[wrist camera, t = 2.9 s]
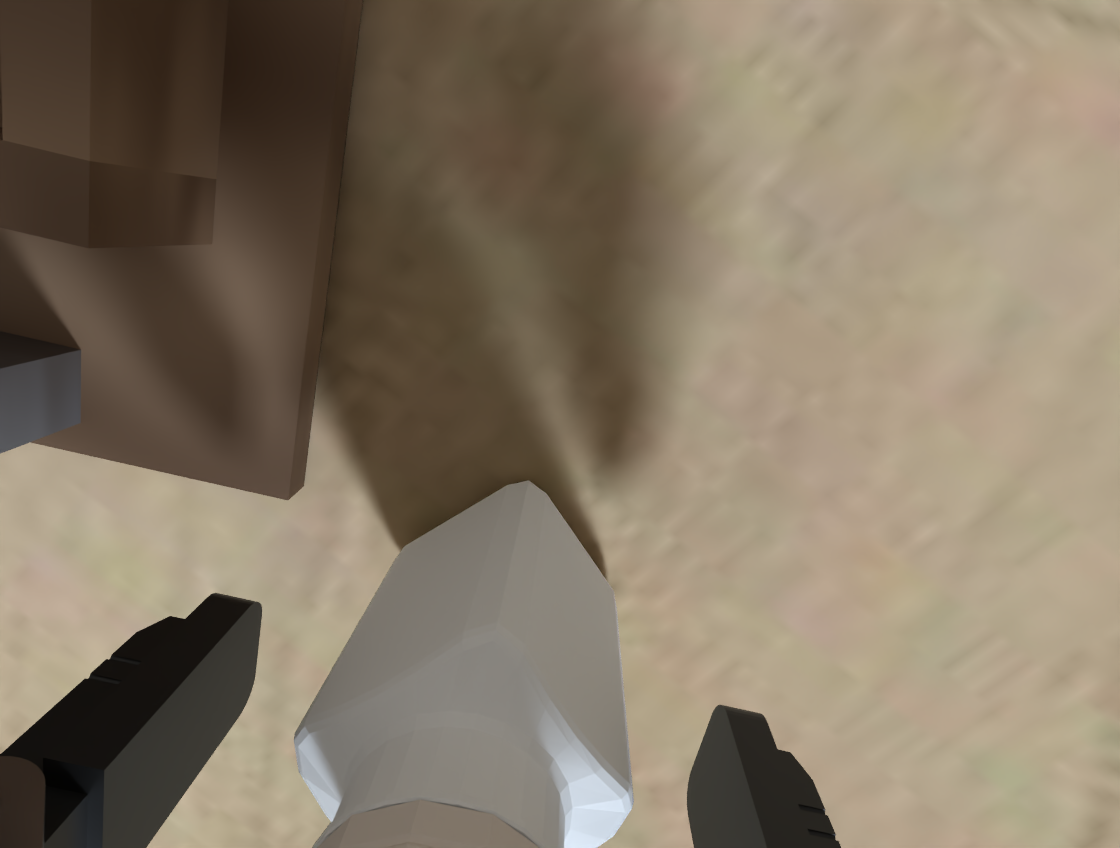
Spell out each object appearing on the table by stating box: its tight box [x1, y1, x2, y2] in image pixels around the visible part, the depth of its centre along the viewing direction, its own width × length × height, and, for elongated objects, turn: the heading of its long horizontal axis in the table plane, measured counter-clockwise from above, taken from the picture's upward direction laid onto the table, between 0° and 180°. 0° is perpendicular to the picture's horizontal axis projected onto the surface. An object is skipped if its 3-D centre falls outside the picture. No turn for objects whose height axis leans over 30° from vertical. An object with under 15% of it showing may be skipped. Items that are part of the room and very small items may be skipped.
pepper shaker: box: [294, 480, 634, 848], centre depth 10 cm, size 4×4×10 cm
